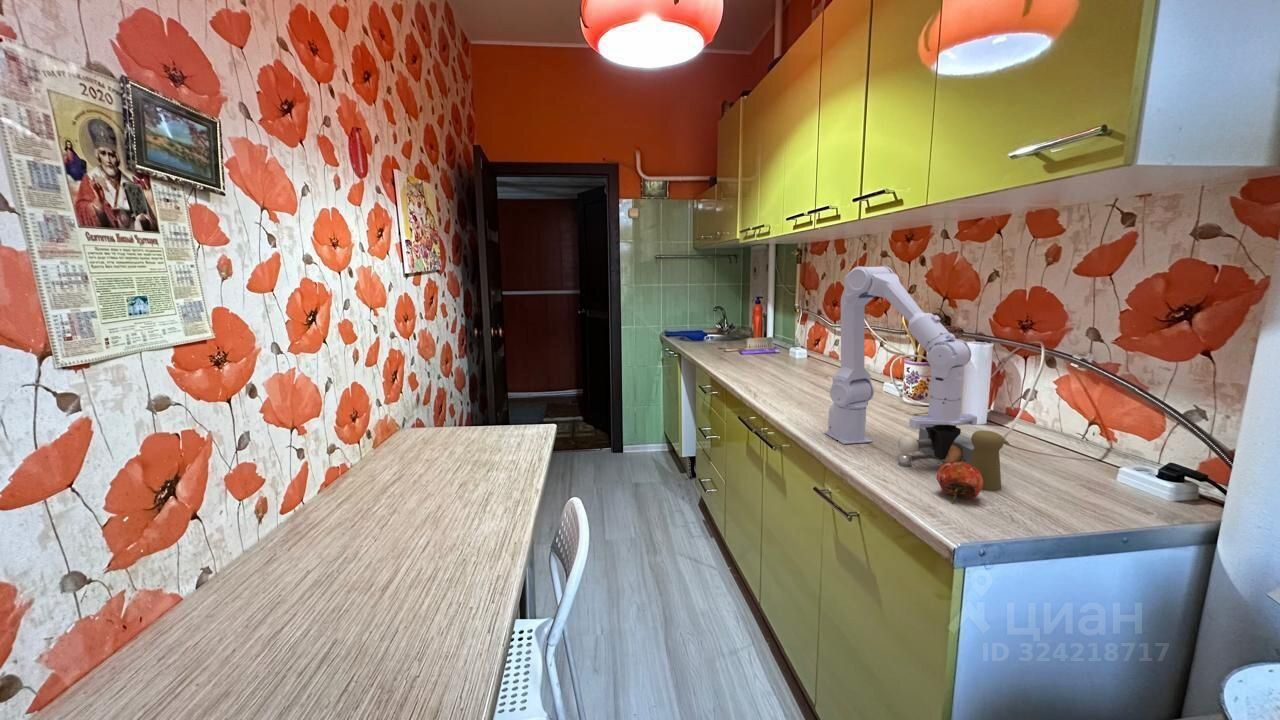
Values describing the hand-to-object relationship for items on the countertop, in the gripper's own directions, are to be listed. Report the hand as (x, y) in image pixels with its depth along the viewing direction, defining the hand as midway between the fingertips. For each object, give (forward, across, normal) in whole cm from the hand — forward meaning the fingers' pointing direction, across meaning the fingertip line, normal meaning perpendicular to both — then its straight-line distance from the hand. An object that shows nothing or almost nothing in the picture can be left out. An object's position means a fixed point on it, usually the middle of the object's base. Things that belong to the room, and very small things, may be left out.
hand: (940, 458), depth 106 cm
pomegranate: (+3, -7, -13) cm, 15 cm away
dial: (+2, -6, +4) cm, 7 cm away
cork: (+3, +2, -9) cm, 10 cm away
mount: (+2, +6, +4) cm, 8 cm away
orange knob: (+1, +6, 0) cm, 6 cm away
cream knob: (+1, +1, +7) cm, 7 cm away
